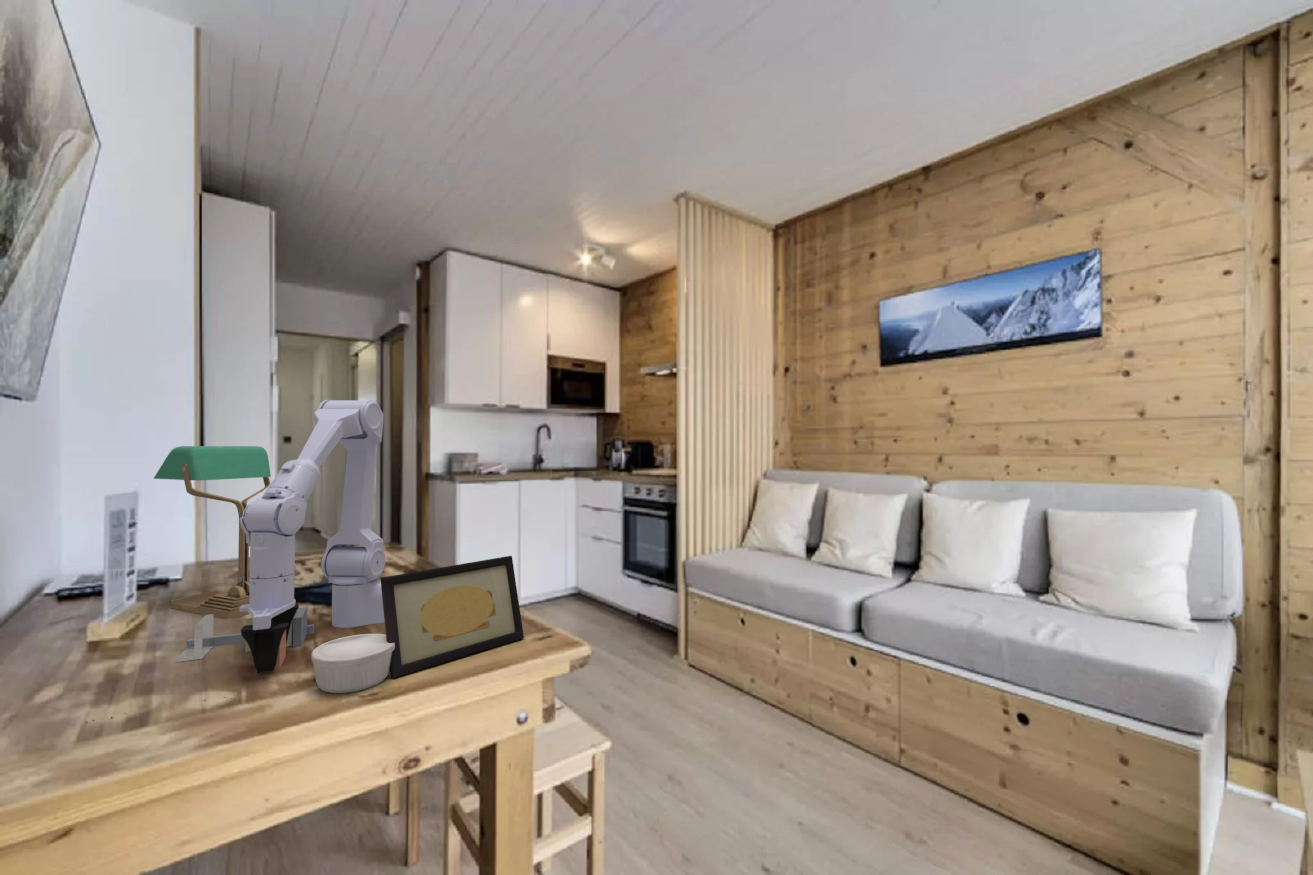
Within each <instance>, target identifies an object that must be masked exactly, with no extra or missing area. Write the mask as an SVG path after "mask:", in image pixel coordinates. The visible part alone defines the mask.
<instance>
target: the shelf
mask: <svg viewBox="0 0 1313 875" xmlns="http://www.w3.org/2000/svg"><path fill="white" fill-rule="evenodd" d="M314 633H315V624H314V623H312V624H308V606H305V607H304V606H303V607H299V608H298V610H297V611H296V614H295V616H294V618H293V644H292V648H300V647H302V646H303V644H304V641H305V639H306V637H307V636H308V635H313V634H314ZM241 643H242V644H243V643H246V640H245V639H244V638H243V637H242V635H241V632H239V633H230V634H224V635H223V634H222V635H213V647H218V646H220V647H221V646H226V645H227V646H228V645H236V644H241ZM189 646H194V638H189V639H187V640H186V648H187V647H189Z"/></svg>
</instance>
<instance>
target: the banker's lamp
mask: <svg viewBox="0 0 1313 875" xmlns="http://www.w3.org/2000/svg"><path fill="white" fill-rule="evenodd" d="M271 477H272V476H271V470H270V461H269V455H268V452H267V449H265V448H264V447H262V446H259V445H258V446H256V445H254V446H253V445H251V446H250V445H247V446H246V445H233V446H231V445H225V446H224V445H223V446H222V445H216V446H215V445H212V446H211V445H198V446H197V445H194V446H193V445H192V446H191V445H182V446H176V447H174V448H172V449H171V451H170V452H169V453H168V455H167V456H166V457H165V458H164V461H163V462H162V463H161V466H160V467H159V469H158V470H157V472H156V474H155V475H154V476H153V480H154V479H156V480H175V481H176V480H177V481H184V485H185V490H186V493H187V494H189V495H190V496H194V497H199V498H202V499H203V498H204V499H211V500H216V501H221V502H227V503H230V504H231V503H232V504H233V505H235V507H236V509H237V512H238V550H237V551H238V557H237V558H238V559H237V560H238V561H237V563H238V564H237V583H236V584H235V585H234V586H230V587H229V589H228V591H226V592H222V593H219V592H218V591H217V590H210V591H207V592H204V593H198V594H194V595H190V596H184V597H182V598H181V597H179V598H176V599H171V600H170V609H171V610H176V611H181V612H186V613H187V612H188V613H194V614H198V615H203V616H205V615H210V614H213V618H220V619H225V620H229V619H235V618H240V617H243V616H247V615H250V614H249V612H247V611H245V612H240V611H239V609H240V606H241V605H243V604H249V594H250V546H248V543H246V534H245V532H244V531H243V529H242V528H241V525H240V518H242V515H243V512H244V509H245V508H246V506H247V505H248V501H249V500H250V499H252V498H253V497H255V496H257V495H259V494H261V493H262V492H265V491H266V490H267V489H268V487H269V486H270V485H271V480H270V478H271ZM253 478H257V479H259V478H262V480H263V484H264V487H263V488H261V489H260V490H258V491H256V492H254V493H253V494H251V495H249V496H248V497H246V498H244V499H243V500H241V501H239V500H238V499H234V498H230V497H226V496H221V495H218V494H217V495H216V494H215V493H214V494H213V493H209V492H204V491H201V490H197V489H195V488H193V485H192V481H217V480H234V479H253Z"/></svg>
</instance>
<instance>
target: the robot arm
mask: <svg viewBox="0 0 1313 875" xmlns="http://www.w3.org/2000/svg"><path fill="white" fill-rule="evenodd" d="M313 416H314V423H315V424H314V428H313V430H312V431H311V433H310V435H309V437H308V439H307V440H306V443H305V445H304V446H303V448H302V450H301V452H300V454H299V455H298V457H297V459H291V460H288V461H286V462H285V463H283V465H282V466H281V468H280V470H279V472H278V473H277V475H276V476H275V478H274V479H273V480H272V481H271V482H270V485H269V486H268V487H267V488H266V489H265V491H264V493H263V495H262V496H261V497H259V498H256V499H254V500H252V501H251V502H250V503H247V506H246V508H245V509H244V512H243V515H242V518H240V525H241V528H242V529H243V531H244V532H245V534H246V543H248V546H249V583H250V594H249V604H243V605H241V606H240V609H239V611H240V612H245V611H247V612H249V614H248V615H251V616H252V617H253V625H246V624H245V625H244V626H242V628H241V629H240V633H241V635H242V637H243V638H244V639H245V640H246V642H247V643H248V645H249V647H250V650H251V651H250V652H251V655H252V660H253V664H254V665H253V666H254V669H255V672H256V671H257V672H256V674H261V673H267V672H273V671H275V670H276V669H275V666H276V663H277V658H278V652H279V647H280V643H281V639H282V636H283V634H284V632H285V630H286V643H287V639H288V634H289V630H290V626H291V623H292V620H293V618H294V615H295V613H297V611H298V609H299V608H300V607H299V604H296V599H295V573H296V572H295V569H296V568H295V560H296V558H295V556H296V533H297V532H298V531H299V530H300V529H301V527H302V526H303V525H304V524H305V520H306V510H307V508H308V503H307V501H308V500H309V499H310V496H311V495H312V493H313V491H314V490H315V488H316V487H317V485H318V484H319V482H320V480H321V478H322V473H321V471H320V470H319V468H320V467H321V466H322V464H323V463H324V461H325V460H326V459H327V457H328V456H329V455H330V454H331V452H332V451H333V450H334V448H336V445H337V444H338V443H339V444H341V445H342V446H343V447H344V448H345V449H346V451H347V452H346V462H345V463H346V464H345V471H344V472H345V474H344V485H343V495H342V496H343V497H342V504H341V505H342V506H341V507H342V508H341V518H340V526H339V527H340V529H339V531H338V532H336V533H335V534H334V535H333V536H331V537H330V538H329V539H328V540H327V541H326V548H325V551H324V554H323V556H322V559H321V562H320V563H321V564H320V567H321V571H322V574H323V576H324V577H325V578H327V580H328V583H329V584H332V585H331V586H332V587H331V588H332V589H331V591H332V593H331V626H332V627H335V628H343V629H344V628H346V629H350V628H357V627H361V626H367V625H374V624H382V623H384V624H385V621H384V611H383V600H382V590H381V580H380V576H381V574H382V573H383V571H384V569H385V566H386V554H385V548H384V542H385V540H384V539H383V538H382V537H380V536H379V535H378V534H376V533H375V532H374V531H373V530H372V517H373V516H372V514H373V502H374V490H375V479H376V471H377V470H376V468H377V457H378V456H377V455H378V445H379V444H381V443H382V441H383V440H382V438H383V429H384V428H383V427H384V416H385V415H384V413H383V411H382V409H381V407H380V406H379V403H378V402H377V401H376V400H374V399H365V400H351V399H350V400H348V399H347V400H339V399H338V400H335V399H334V400H333V399H325V400H323V401H321V402H320V404H319V405H318V408H317V410H315V412H314V413H313ZM347 545H349V546H347ZM351 545H356V546H351ZM246 642H245V643H246Z"/></svg>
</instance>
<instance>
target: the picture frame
mask: <svg viewBox="0 0 1313 875" xmlns="http://www.w3.org/2000/svg"><path fill="white" fill-rule="evenodd" d="M379 579H380V580H381V590H382V600H383V611H384V621H385V622H384V629H385V631H384V632H385V635H386V641H387V642H388V643H395V649H394V650H393V651H392V655H391V662H390V671H389V678H390V679H395V678H397V677H401V676H403V675H404V676H405V675H406V674H410V673H413V672H417V671H420V670H424V669H426V668H430V667H434V666H437V665H440V664H443V663H446V662H451V661H452V660H457V659H459V658H463V657H467V656H470V655H472V654H476V653H479V652H483V651H486V650H489V649H492V648H493V649H494V648H496V647H499V646H502V645H505V644H509V643H512V642H516V641H519V640H522V639H524V638H525V635H524V629H523V622H522V615H521V609H520V601H519V596H518V588H517V581H516V576H515V568H514V561H513V555H507V556H499V557H496V558H489V559H488V558H487V559H484V560H478V561H472V562H466V563H459V564H455V565H448V566H443V567H437V568H430V569H425V570H418V571H412V572H406V573H402V574H395V575H388V576H383V577H382V576H381V577H379Z"/></svg>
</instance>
